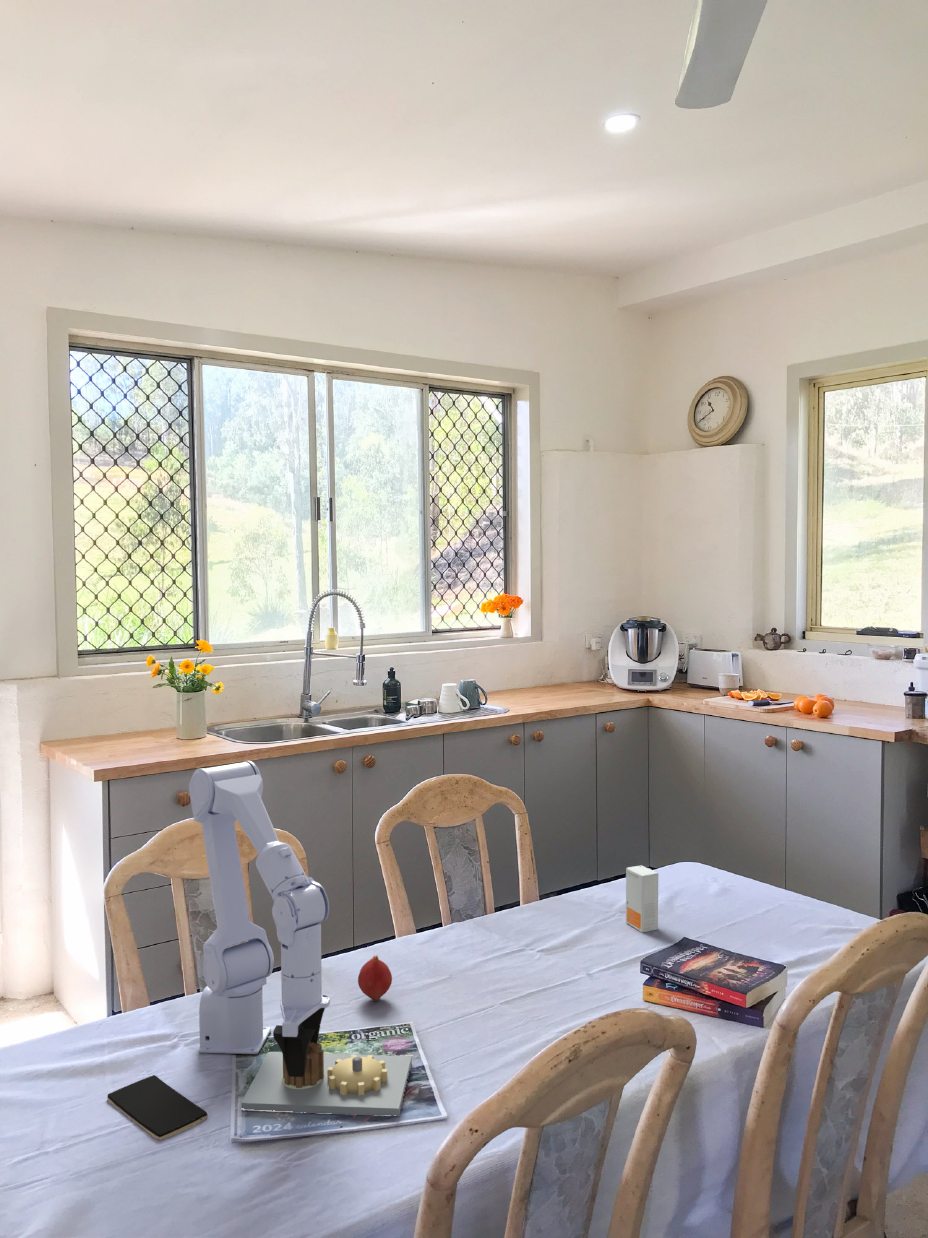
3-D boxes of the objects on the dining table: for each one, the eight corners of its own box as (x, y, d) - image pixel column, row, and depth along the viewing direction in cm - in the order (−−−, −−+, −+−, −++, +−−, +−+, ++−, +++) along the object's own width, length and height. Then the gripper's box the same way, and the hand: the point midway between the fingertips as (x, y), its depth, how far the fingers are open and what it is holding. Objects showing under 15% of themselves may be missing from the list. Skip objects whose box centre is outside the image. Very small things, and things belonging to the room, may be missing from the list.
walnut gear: (278, 1087, 137) (278, 1060, 137) (288, 1066, 143) (288, 1040, 143) (318, 1089, 137) (318, 1061, 136) (327, 1067, 142) (327, 1041, 142)
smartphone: (153, 1074, 142) (209, 1113, 132) (153, 1081, 142) (209, 1121, 132) (105, 1094, 137) (159, 1136, 126) (106, 1101, 137) (160, 1144, 126)
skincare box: (624, 923, 202) (625, 867, 202) (641, 920, 204) (642, 864, 204) (641, 933, 197) (642, 875, 196) (659, 930, 199) (659, 873, 198)
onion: (351, 1003, 166) (351, 958, 166) (370, 990, 171) (369, 946, 171) (380, 1010, 163) (379, 964, 163) (398, 997, 168) (397, 952, 168)
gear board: (241, 1111, 133) (240, 1082, 133) (268, 1059, 147) (268, 1032, 147) (398, 1117, 132) (398, 1087, 132) (411, 1064, 146) (411, 1037, 146)
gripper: (317, 993, 131) (318, 1089, 132) (338, 950, 146) (339, 1038, 147) (266, 991, 132) (268, 1088, 133) (292, 949, 146) (294, 1036, 147)
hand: (302, 1061), depth 140 cm, fingers open, 7 cm apart
